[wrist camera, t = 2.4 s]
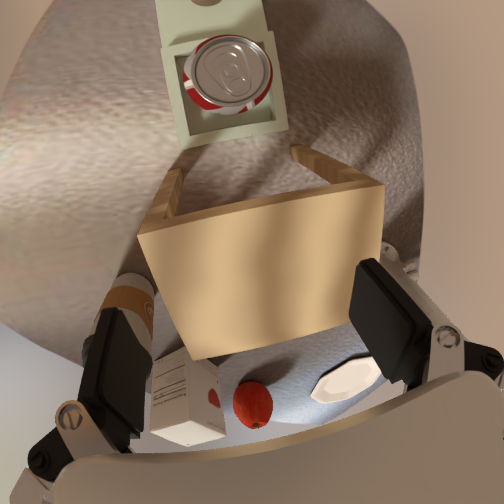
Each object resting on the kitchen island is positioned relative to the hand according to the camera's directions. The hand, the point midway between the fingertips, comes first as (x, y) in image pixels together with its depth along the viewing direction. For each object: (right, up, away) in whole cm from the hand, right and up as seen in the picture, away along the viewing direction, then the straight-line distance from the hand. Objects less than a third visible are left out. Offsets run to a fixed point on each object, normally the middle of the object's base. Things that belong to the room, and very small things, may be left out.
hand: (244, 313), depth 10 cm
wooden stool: (-1, +8, +23) cm, 25 cm away
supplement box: (-12, -18, +37) cm, 43 cm away
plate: (+24, -29, +51) cm, 63 cm away
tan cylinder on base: (-3, +24, +13) cm, 28 cm away
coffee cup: (-17, -3, +27) cm, 32 cm away
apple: (0, -26, +44) cm, 51 cm away
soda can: (-3, +21, +15) cm, 26 cm away
